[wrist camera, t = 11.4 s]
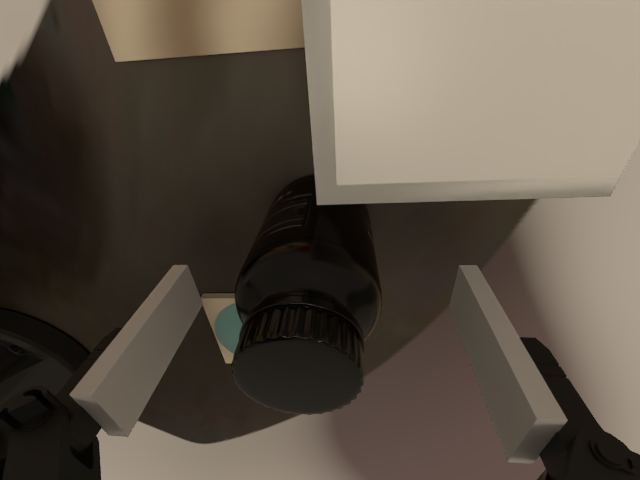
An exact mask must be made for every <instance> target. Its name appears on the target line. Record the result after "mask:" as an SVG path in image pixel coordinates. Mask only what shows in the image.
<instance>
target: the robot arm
mask: <svg viewBox="0 0 640 480" xmlns="http://www.w3.org/2000/svg"><path fill="white" fill-rule="evenodd" d="M202 305H203V303H202V300H201V297H200V295H199V292H198V290H197V287H196V285H195V282H194V280H193V277H192V275H191V272H190V270H189V267H188V265H173V266H172V267H171V269H170V270H169V271H168V272H167V274H166V275H165V276H164V277H163V279H162V280H161V281H160V282H159V284H158V285H157V286H156V287H155V289H154V290H153V291H152V292H151V294H150V295H149V296H148V297H147V298H146V300H145V301H144V302H143V303H142V305H141V306H140V307H139V308H138V310H137V311H136V312H135V313H134V315H133V316H132V317H131V318H130V320H129V321H128V322H127V323H126V325H125V326H124V327H123V328H116V329H115V330H114V331H112V332H111V333H110V334H108V335H107V336H106V337H104V338H103V340H102V341H101V342H100V343H99V344H98V346H97V347H96V348H95V349H94V352H93V351H92V353H91V354H90V355H89V354H88V353H87V352H86V351H85V350H84V349H83V348H82V347H81V346H80V345H78V344H77V343H76V342H75V341H73V340H72V339H71V338H69V337H68V336H66V335H65V334H63V333H61V332H60V331H58V330H56V329H54V328H52V327H50V326H48V325H46V324H44V323H42V322H40V321H38V320H35V319H33V318H30V317H27V316H24V315H21V314H18V313H15V312H11V311H7V310H3V309H0V480H101V471H100V452H99V441H98V438H97V437H96V435H97V434H98V432H99V430H100V429H101V428H102V429H103V430H104V431H105V432H106V433H107V434H108V435H112V436H126V437H128V436H129V434H130V432H131V431H132V428H133V427H134V425H135V424H136V422H137V420H138V418H139V417H140V415H141V413H142V411H143V410H144V408H145V406H146V404H147V402H148V401H149V399H150V397H151V395H152V394H153V392H154V390H155V388H156V387H157V385H158V383H159V381H160V379H161V378H162V376H163V374H164V372H165V371H166V369H167V367H168V365H169V364H170V362H171V360H172V358H173V356H174V355H175V353H176V351H177V349H178V348H179V346H180V344H181V342H182V341H183V339H184V337H185V335H186V334H187V332H188V330H189V328H190V326H191V325H192V323H193V321H194V319H195V318H196V316H197V314H198V312H199V311H200V309H201V307H202ZM449 310H450V312H451V315H452V318H453V320H454V323H455V325H456V328H457V331H458V333H459V336H460V339H461V341H462V344H463V346H464V349H465V352H466V354H467V357H468V359H469V362H470V365H471V367H472V370H473V373H474V375H475V378H476V381H477V383H478V386H479V388H480V391H481V394H482V396H483V399H484V401H485V404H486V407H487V409H488V412H489V414H490V417H491V420H492V422H493V425H494V428H495V430H496V433H497V435H498V438H499V441H500V443H501V446H502V448H503V451H504V454H505V456H506V459H507V461H508V462H517V463H532V464H533V463H534V462H535V461H536V459H537V458H538V457H539V456H540V457H541V459H542V461H543V463H544V466H545V468H546V470H545V471H544V472H543V473H542V474H541V475H540V476H539V478H538V479H537V480H640V455H639V454H637V453H634V452H632V451H630V450H629V449H628V448H627V446H626V445H625V444H624V443H623V442H621V441H620V440H618V439H617V438H616V437H614V436H612V435H611V434H609V433H607V432H605V431H604V430H603V429H602V428H601V427H600V426H599V424H598V423H597V421H596V420H595V418H594V417H593V415H592V414H591V412H590V411H589V409H588V408H587V406H586V405H585V403H584V402H583V400H582V399H581V397H580V396H579V394H578V393H577V391H576V390H575V388H574V387H573V385H572V384H571V382H570V381H569V379H567V378H566V375H565V373H564V371H563V370H562V368H561V367H559V365H558V362H557V361H556V359H555V358H554V357H553V355H552V353H551V352H550V350H549V349H548V348H546V347H545V346H544V345H543V344H542V343H541V342H540V341H538V340H537V339H536V338H523V337H519V336H518V334H517V333H516V331H515V329H514V328H513V326H512V324H511V322H510V321H509V319H508V317H507V316H506V314H505V312H504V311H503V309H502V307H501V305H500V304H499V302H498V301H497V299H496V297H495V295H494V293H493V292H492V290H491V289H490V287H489V285H488V283H487V281H486V280H485V278H484V276H483V275H482V273H481V271H480V270H479V268H478V266H477V265H459V269H458V273H457V277H456V281H455V285H454V289H453V293H452V297H451V301H450V305H449Z"/></svg>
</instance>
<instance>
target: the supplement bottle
mask: <svg viewBox="0 0 640 480" xmlns="http://www.w3.org/2000/svg"><path fill="white" fill-rule="evenodd" d="M235 305H236V309H237V313H238V315H239V318H240V320H241V322H242V324H243V325H242V327H241V330H240V334H239V342H238V344H237V347H236V350H235V353H234V357H233V360H232V364H231V368H232V376H233V377H234V378H235V383H236V384H237V385H238V386H239V389H240V390H241V391H243V392H244V393H245V394H246V396H248V397H250V398H252V399H253V400H254V401H255V402H258V403H260V404H262V405H264V406H265V407H269V408H272V409H274V410H278V411H283V412H286V413H294V414H308V415H311V414H322V413H325V412H332V411H334V410H336V409H341V408H342V407H343V406H345V405H348V404H350V403H351V401H352V400H354V399H356V397H357V395H358V394H359V393H360V392H361V389H362V385H363V384H364V359H363V355H364V341H365V340H366V339H367V338H368V337H369V335H370V334H371V333H372V331H373V330H374V328H375V326H376V324H377V322H378V320H379V317H380V313H381V308H382V296H381V288H380V281H379V275H378V269H377V263H376V257H375V250H374V244H373V238H372V232H371V225H370V220H369V215H368V211H367V208H366V206H365V204H334V205H317V199H316V186H315V176H312V177H306V178H302V179H299V180H297V181H295V182H293V183H291V184H289V185H288V186H287V187H285V188H284V189H283V190H282V191H281V192H280V193H279V195H278V196H277V197H276V199H275V200H274V202H273V204H272V206H271V208H270V210H269V212H268V214H267V216H266V218H265V221H264V223H263V225H262V227H261V229H260V231H259V233H258V235H257V237H256V240H255V242H254V244H253V246H252V248H251V250H250V252H249V254H248V256H247V259H246V261H245V263H244V265H243V267H242V269H241V272H240V274H239V276H238V279H237V282H236V287H235Z"/></svg>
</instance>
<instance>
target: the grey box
mask: <svg viewBox="0 0 640 480" xmlns="http://www.w3.org/2000/svg"><path fill="white" fill-rule="evenodd" d="M301 4H302V17H303V30H304V43H305V56H306V69H307V82H308V95H309V108H310V121H311V134H312V147H313V160H314V173H315V186H316V199H317V205H334V204H369V203H403V202H437V201H471V200H505V199H539V198H573V197H604V196H606V197H607V196H611V194H612V192H613V190H614V189H615V186H616V185H617V183H618V181H619V179H620V177H621V175H622V173H623V171H624V169H625V167H626V166H627V164H628V162H629V160H630V158H631V156H632V154H633V152H634V150H635V148H636V146H637V144H638V143H639V141H640V0H301Z"/></svg>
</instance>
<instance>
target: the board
mask: <svg viewBox="0 0 640 480" xmlns="http://www.w3.org/2000/svg"><path fill="white" fill-rule="evenodd" d="M92 1H93V4H94V6H95V9H96V12H97V14H98V17H99V20H100V22H101V25H102V27H103V30H104V33H105V35H106V38H107V41H108V43H109V46H110V48H111V51H112V54H113V56H114V59H115V62H123V61H136V60H149V59H162V58H175V57H188V56H201V55H214V54H227V53H240V52H252V51H265V50H278V49H291V48H304V47H305V43H304V30H303V17H302V4H301V0H92Z"/></svg>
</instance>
